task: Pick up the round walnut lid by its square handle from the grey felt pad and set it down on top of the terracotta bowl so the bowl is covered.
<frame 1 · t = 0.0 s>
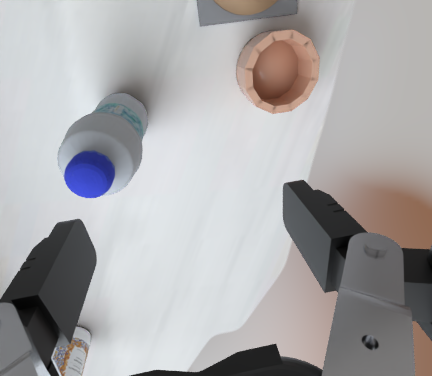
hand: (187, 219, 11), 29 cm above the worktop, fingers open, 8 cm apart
bottle: (125, 114, 37), on the worktop
bath foam: (74, 334, 56), on the worktop
bowl: (269, 69, 37), on the worktop
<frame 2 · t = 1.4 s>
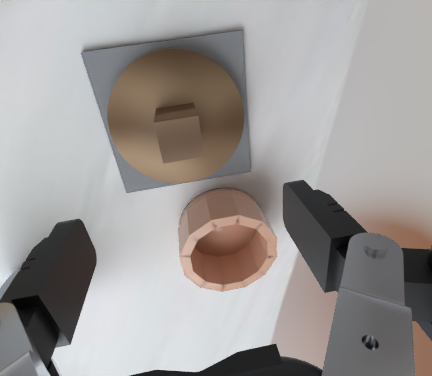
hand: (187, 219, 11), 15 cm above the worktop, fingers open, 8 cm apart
felt pad: (177, 119, 24), on the worktop
bowl: (221, 224, 30), on the worktop
lid: (178, 120, 23), resting on felt pad
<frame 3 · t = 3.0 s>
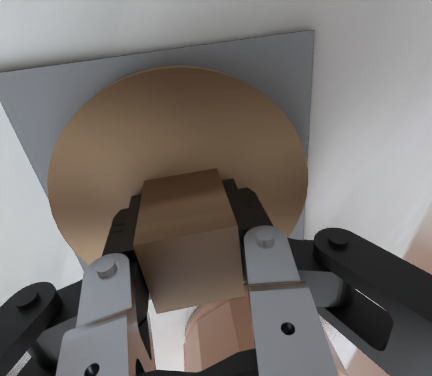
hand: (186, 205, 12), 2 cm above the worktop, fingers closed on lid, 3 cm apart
felt pad: (184, 187, 13), on the worktop
bowl: (248, 327, 19), on the worktop
lid: (185, 193, 13), point 1 cm above the worktop, touching gripper
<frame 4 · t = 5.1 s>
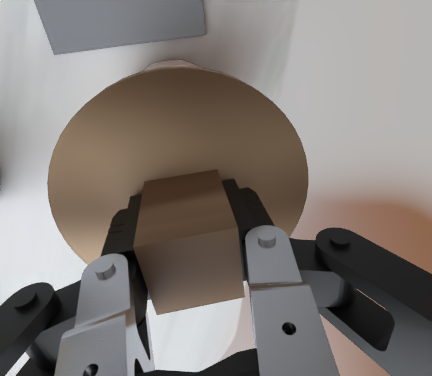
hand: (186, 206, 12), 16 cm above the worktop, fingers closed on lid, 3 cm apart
lid: (186, 194, 13), point 15 cm above the worktop, touching gripper
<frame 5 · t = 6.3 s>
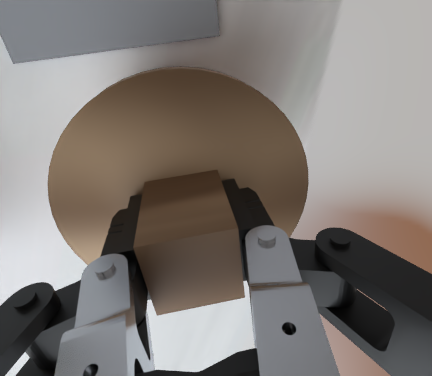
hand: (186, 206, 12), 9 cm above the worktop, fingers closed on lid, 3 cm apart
lid: (186, 194, 13), point 8 cm above the worktop, touching gripper
when the fingers open (7 cm above the worktop, at t = 7.3 s): lid drops 1 cm, resting on bowl.
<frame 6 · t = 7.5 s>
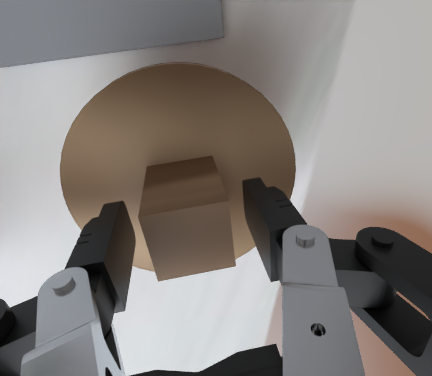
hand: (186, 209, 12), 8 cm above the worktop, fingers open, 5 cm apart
lid: (184, 179, 14), point 5 cm above the worktop, touching bowl
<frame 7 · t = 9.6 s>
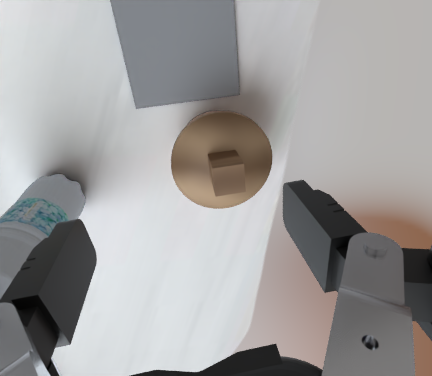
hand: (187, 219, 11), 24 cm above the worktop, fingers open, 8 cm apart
bottle: (62, 191, 35), on the worktop
felt pad: (179, 43, 29), on the worktop
lid: (221, 161, 31), point 5 cm above the worktop, touching bowl
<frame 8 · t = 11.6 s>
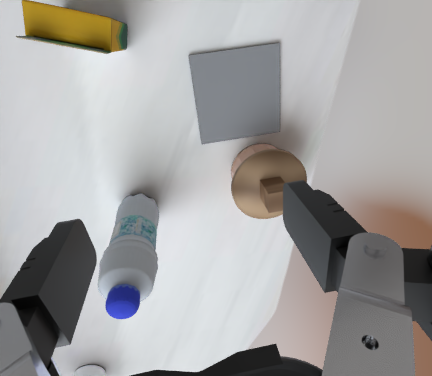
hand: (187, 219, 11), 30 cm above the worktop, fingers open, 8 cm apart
bottle: (139, 205, 45), on the worktop
felt pad: (237, 96, 39), on the worktop
bath foam: (90, 371, 64), on the worktop
bowl: (258, 169, 45), on the worktop
crayon box: (95, 30, 33), on the worktop
lid: (267, 184, 41), point 5 cm above the worktop, touching bowl
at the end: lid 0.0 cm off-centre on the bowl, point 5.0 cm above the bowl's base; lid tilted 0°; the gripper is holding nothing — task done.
